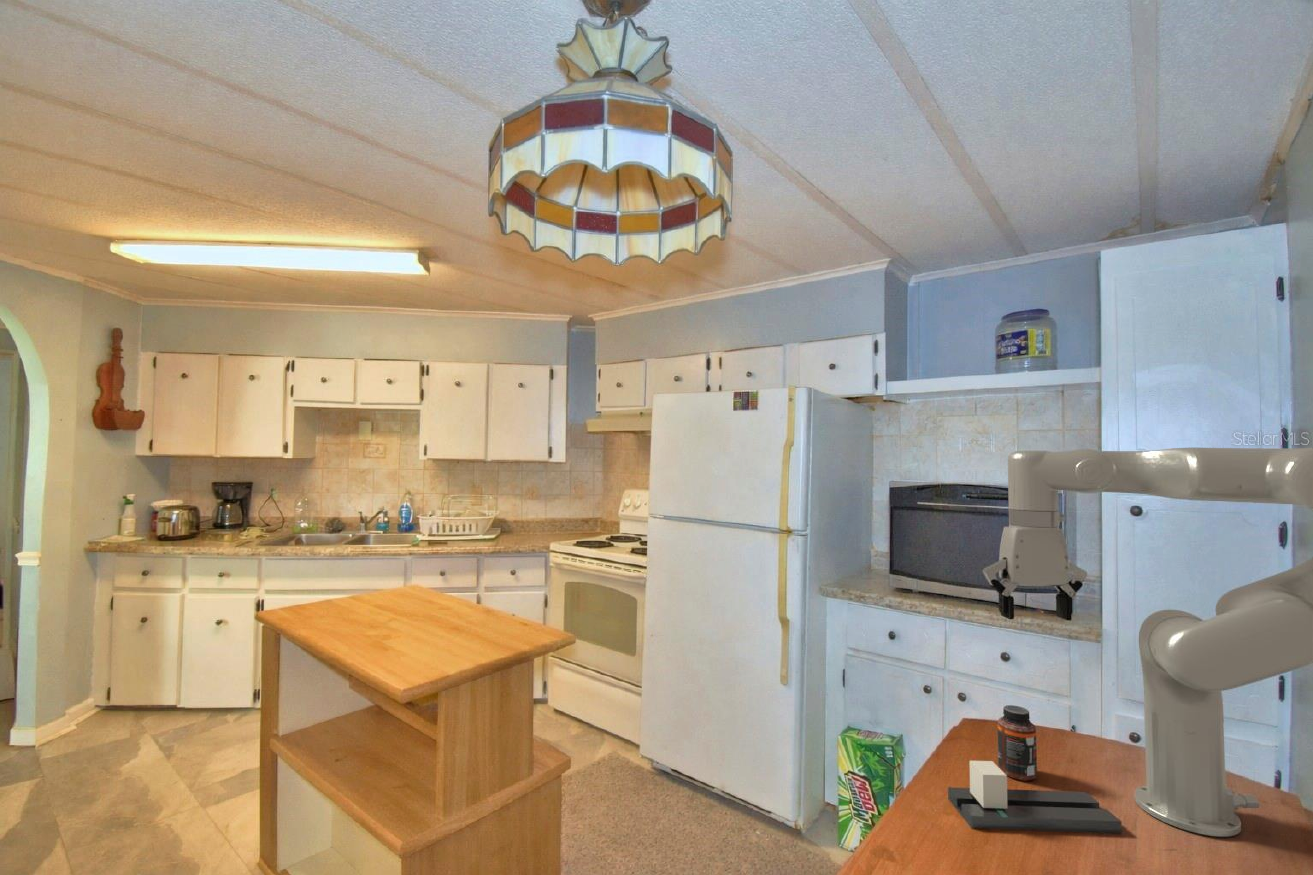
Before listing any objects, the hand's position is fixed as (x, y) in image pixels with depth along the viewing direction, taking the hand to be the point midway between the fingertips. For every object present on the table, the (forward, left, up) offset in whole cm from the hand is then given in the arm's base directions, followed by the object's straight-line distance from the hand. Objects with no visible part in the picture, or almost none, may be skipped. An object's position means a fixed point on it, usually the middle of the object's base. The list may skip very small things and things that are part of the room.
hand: (1035, 617), depth 104 cm
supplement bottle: (+2, -3, -28) cm, 29 cm away
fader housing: (+7, +10, -28) cm, 31 cm away
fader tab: (+14, +10, -27) cm, 32 cm away
